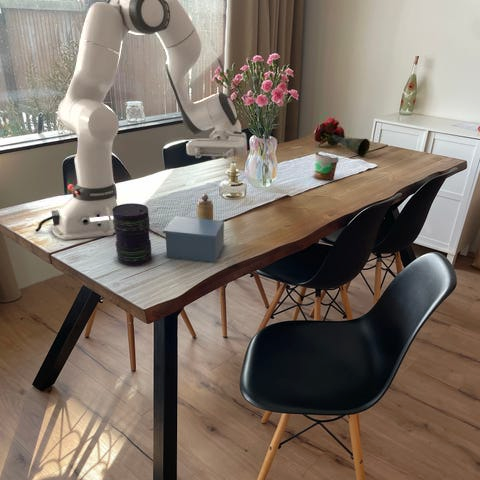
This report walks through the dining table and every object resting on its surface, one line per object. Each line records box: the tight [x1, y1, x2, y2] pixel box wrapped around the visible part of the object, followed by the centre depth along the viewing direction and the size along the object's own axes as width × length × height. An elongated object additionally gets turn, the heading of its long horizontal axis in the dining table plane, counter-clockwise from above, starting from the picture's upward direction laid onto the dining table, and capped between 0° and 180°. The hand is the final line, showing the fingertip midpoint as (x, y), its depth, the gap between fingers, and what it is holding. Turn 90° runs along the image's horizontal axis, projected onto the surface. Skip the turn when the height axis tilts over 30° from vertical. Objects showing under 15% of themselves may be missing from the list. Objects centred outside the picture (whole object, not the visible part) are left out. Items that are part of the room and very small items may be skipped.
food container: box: [313, 151, 339, 181], centre depth 213 cm, size 12×6×10 cm, turn 42°
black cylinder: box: [112, 202, 153, 267], centre depth 137 cm, size 10×10×15 cm
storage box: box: [165, 223, 225, 263], centre depth 145 cm, size 15×12×7 cm
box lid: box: [162, 215, 225, 238], centre depth 143 cm, size 15×12×1 cm
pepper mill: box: [196, 193, 214, 220], centre depth 153 cm, size 5×5×14 cm
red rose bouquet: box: [313, 117, 371, 158], centre depth 262 cm, size 16×18×35 cm
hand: (211, 156), depth 155 cm, fingers open, 8 cm apart
